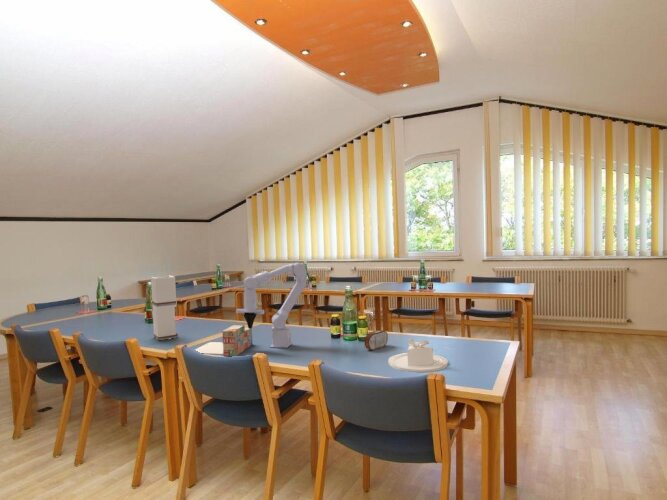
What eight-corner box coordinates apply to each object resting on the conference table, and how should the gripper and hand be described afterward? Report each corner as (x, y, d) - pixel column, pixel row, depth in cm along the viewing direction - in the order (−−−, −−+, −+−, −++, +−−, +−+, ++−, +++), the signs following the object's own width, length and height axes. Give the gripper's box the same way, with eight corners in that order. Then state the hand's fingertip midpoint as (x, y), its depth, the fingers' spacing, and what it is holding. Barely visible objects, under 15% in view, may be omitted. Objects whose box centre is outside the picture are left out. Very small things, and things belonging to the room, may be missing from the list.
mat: (240, 343, 226) (240, 342, 226) (222, 354, 206) (222, 353, 206) (209, 342, 230) (209, 342, 230) (188, 353, 210) (188, 352, 210)
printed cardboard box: (241, 344, 224) (240, 321, 224) (252, 344, 223) (251, 321, 223) (223, 356, 203) (222, 330, 203) (235, 356, 202) (234, 330, 202)
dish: (456, 370, 171) (456, 342, 171) (395, 374, 169) (394, 346, 169) (437, 353, 196) (436, 329, 195) (383, 357, 194) (382, 332, 193)
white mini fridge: (178, 337, 244) (175, 276, 243) (158, 341, 238) (155, 278, 237) (173, 334, 253) (170, 275, 252) (154, 337, 247) (150, 277, 246)
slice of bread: (384, 344, 214) (383, 327, 213) (389, 345, 211) (388, 328, 211) (364, 351, 203) (363, 333, 203) (369, 352, 201) (368, 334, 201)
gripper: (233, 301, 212) (233, 328, 213) (260, 302, 209) (260, 330, 209) (239, 299, 219) (239, 325, 219) (266, 300, 216) (266, 327, 216)
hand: (250, 327), depth 215 cm, fingers closed
